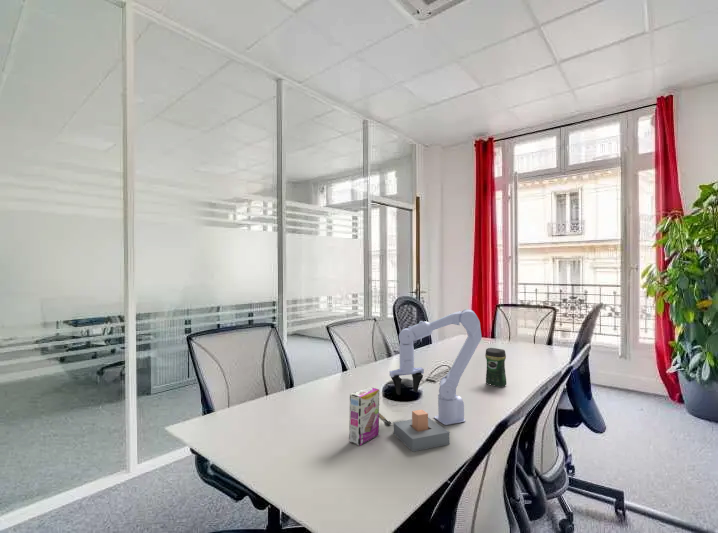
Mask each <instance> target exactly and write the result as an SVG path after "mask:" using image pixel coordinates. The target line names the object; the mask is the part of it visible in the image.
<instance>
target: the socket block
mask: <svg viewBox="0 0 718 533" xmlns="http://www.w3.org/2000/svg"><path fill="white" fill-rule="evenodd" d="M392 424H393V428H392V429H393V432H392V433H393V435H394V436H395V438H397V439H398V440H399V441H400V442H402V443H403V444H404V446H406V447H407V448H408V449H409V450H410V451H411V452H417V451H423V450H426V449H427V450H428V449H432V448H437V447H441V446H442V447H443V446H448V445H450V431H449V430H447V429H445V428H444V427H443V426H442V425H440V424H438V423H437V422H435V421H434V420H432V419H431V418H430V417H428V430H424V431H419V432H417V431H416V430H415V429H413V428H412V418H411V419H405V420H400V421H394V422H393V423H392Z"/></svg>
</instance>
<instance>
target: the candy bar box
mask: <svg viewBox="0 0 718 533" xmlns="http://www.w3.org/2000/svg"><path fill="white" fill-rule="evenodd" d="M379 413H380V389H379V388H376V387H375V388H374V387H371V386H367V387H365V388H363V389H360V390H358V391H354V392H353V393H349V428H348V429H349V435H348V436H349V438H348V442H349V443H351V444H354V445H356V446H357V447H361V446H362V445H364V444H365V443H367V442H370V440H373V439H375V438H376V437H378V436H379V435H380V417H379Z"/></svg>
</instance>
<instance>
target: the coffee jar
mask: <svg viewBox="0 0 718 533" xmlns="http://www.w3.org/2000/svg"><path fill="white" fill-rule="evenodd" d="M484 356H485V359H486V360H485V361H486V371H485V372H486V373H485V384H487V383H488V384H491V385H495V386H494V387H496V386H500V387H499V388H501V387H502V386H504V387H506V386H507V376H506V367H505V366H506V364H505V362H506V357H507V355H506V351H505V349H503V348H502V349H501V348H494V347H488V348H486V349H485V355H484ZM488 384H487V385H488ZM491 385H490V386H491ZM505 385H506V386H505ZM502 388H503V387H502Z"/></svg>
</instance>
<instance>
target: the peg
mask: <svg viewBox="0 0 718 533" xmlns="http://www.w3.org/2000/svg"><path fill="white" fill-rule="evenodd" d="M428 418H429V413H428V412H426V411H425V410H424V409H417V410H412V411H411V419H412V428H413V429H415V430H416V431H417V432H419V431H424V430H428Z"/></svg>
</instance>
